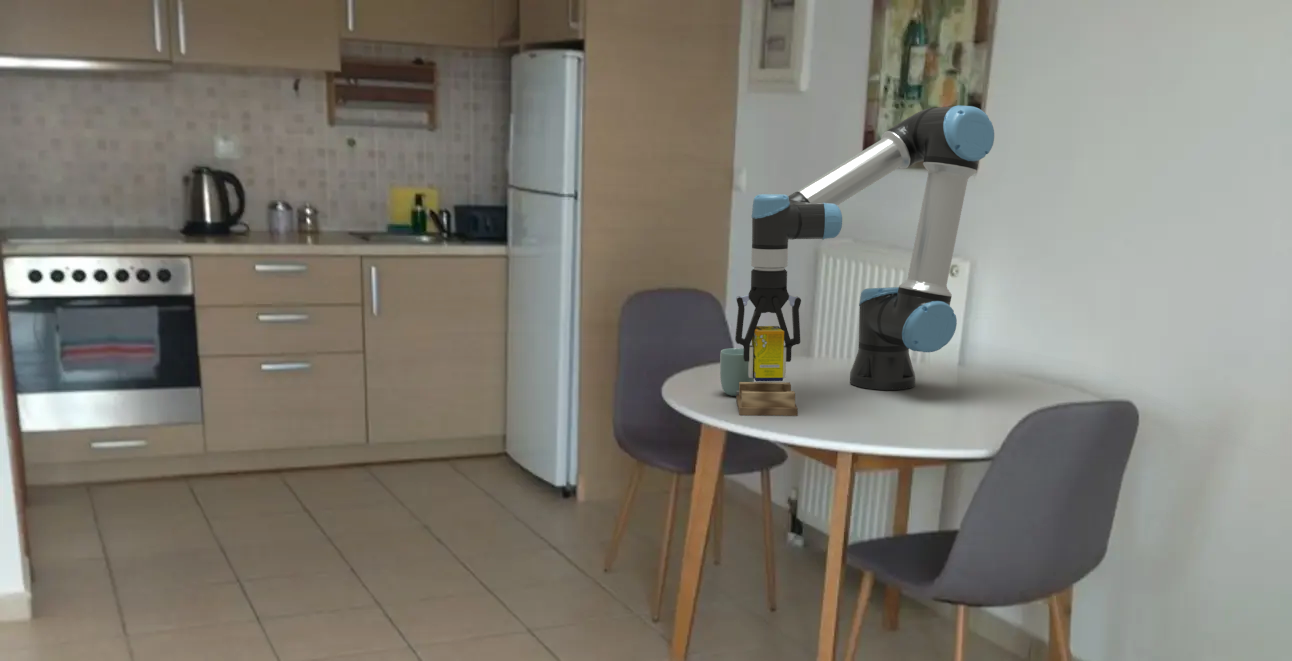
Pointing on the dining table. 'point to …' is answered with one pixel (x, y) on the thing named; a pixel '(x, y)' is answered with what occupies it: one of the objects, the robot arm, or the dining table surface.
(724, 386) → the cup
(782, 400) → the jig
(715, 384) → the dining table surface
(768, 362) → the supplement box
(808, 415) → the dining table surface
